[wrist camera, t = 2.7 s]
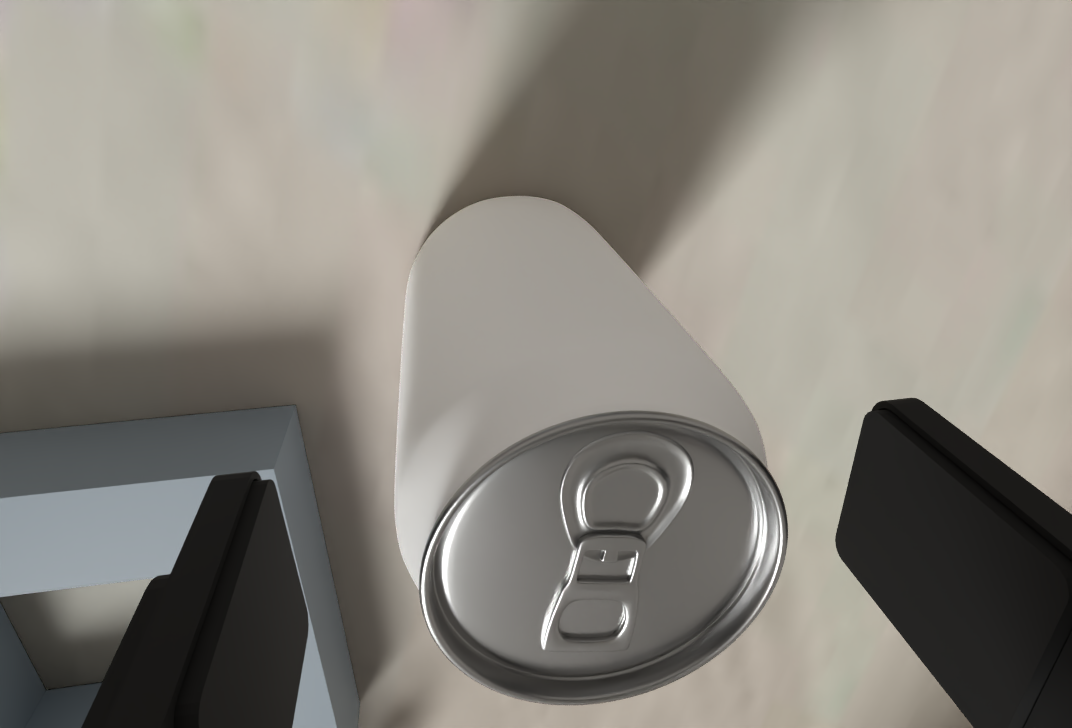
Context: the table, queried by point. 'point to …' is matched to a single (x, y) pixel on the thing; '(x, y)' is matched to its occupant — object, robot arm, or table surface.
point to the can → (571, 466)
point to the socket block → (153, 536)
